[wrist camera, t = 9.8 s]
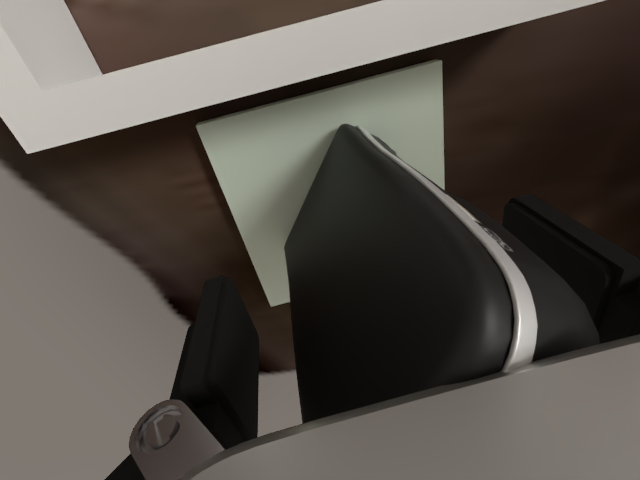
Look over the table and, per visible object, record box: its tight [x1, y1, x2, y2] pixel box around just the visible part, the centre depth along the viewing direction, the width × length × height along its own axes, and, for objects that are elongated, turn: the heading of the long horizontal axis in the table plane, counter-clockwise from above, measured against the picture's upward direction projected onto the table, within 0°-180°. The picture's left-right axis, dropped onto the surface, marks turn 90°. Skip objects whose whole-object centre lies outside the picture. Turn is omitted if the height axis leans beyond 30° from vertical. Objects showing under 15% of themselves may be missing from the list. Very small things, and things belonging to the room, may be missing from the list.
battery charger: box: [284, 124, 600, 424], centre depth 11 cm, size 7×4×11 cm, turn 156°
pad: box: [196, 59, 445, 307], centre depth 16 cm, size 10×10×1 cm
